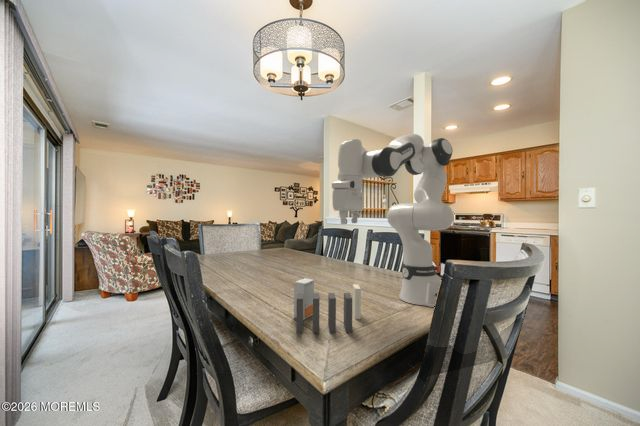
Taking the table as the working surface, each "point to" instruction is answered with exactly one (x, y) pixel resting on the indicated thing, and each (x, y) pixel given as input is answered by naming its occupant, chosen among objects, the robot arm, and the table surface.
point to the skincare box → (304, 296)
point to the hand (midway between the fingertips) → (349, 223)
